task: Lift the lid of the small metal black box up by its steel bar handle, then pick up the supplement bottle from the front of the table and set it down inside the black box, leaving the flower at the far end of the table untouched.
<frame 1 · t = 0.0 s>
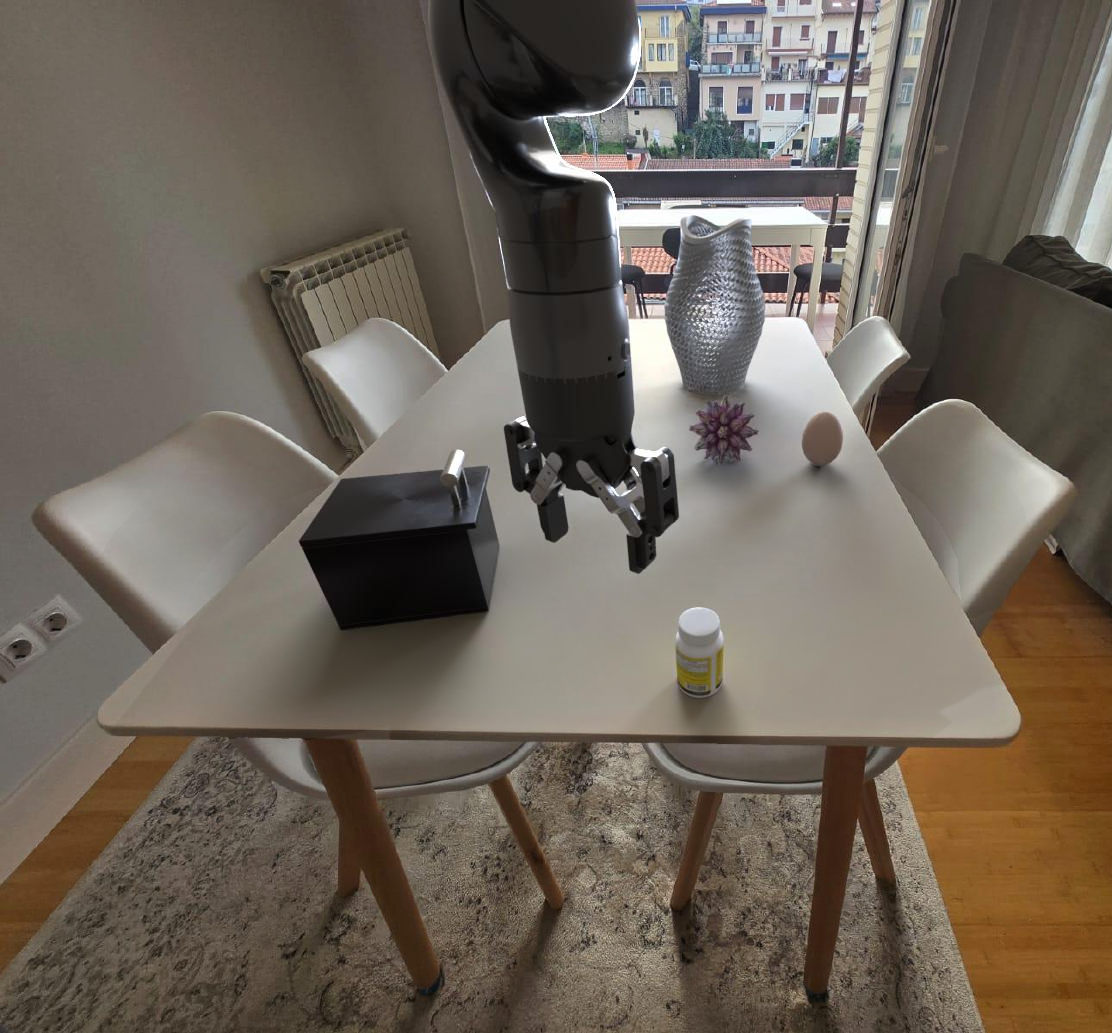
hand: (598, 551, 46), 19 cm above the table, tool pointing down, fingers open, 8 cm apart
egg: (818, 465, 98), on the table
vase: (713, 384, 133), on the table
flower: (723, 461, 100), on the table
black box: (427, 584, 72), on the table
supplement bottle: (699, 682, 58), on the table
oven lid: (399, 486, 64), point 14 cm above the table, hinge at 0.0°
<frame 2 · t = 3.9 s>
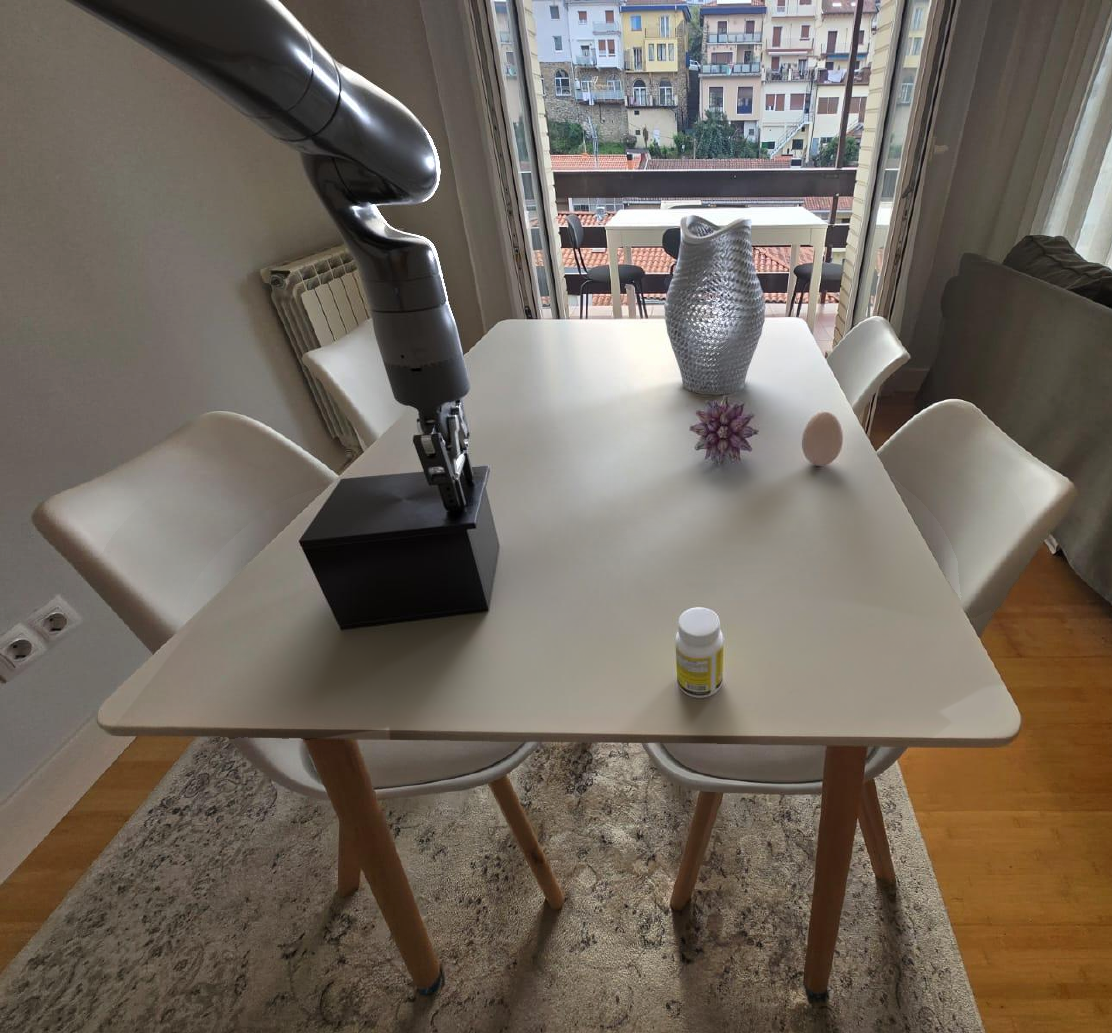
hand: (460, 493, 66), 13 cm above the table, tool pointing down, fingers closed on oven lid, 6 cm apart
oven lid: (399, 486, 64), point 14 cm above the table, hinge at -0.1°, touching gripper
everything else where it was.
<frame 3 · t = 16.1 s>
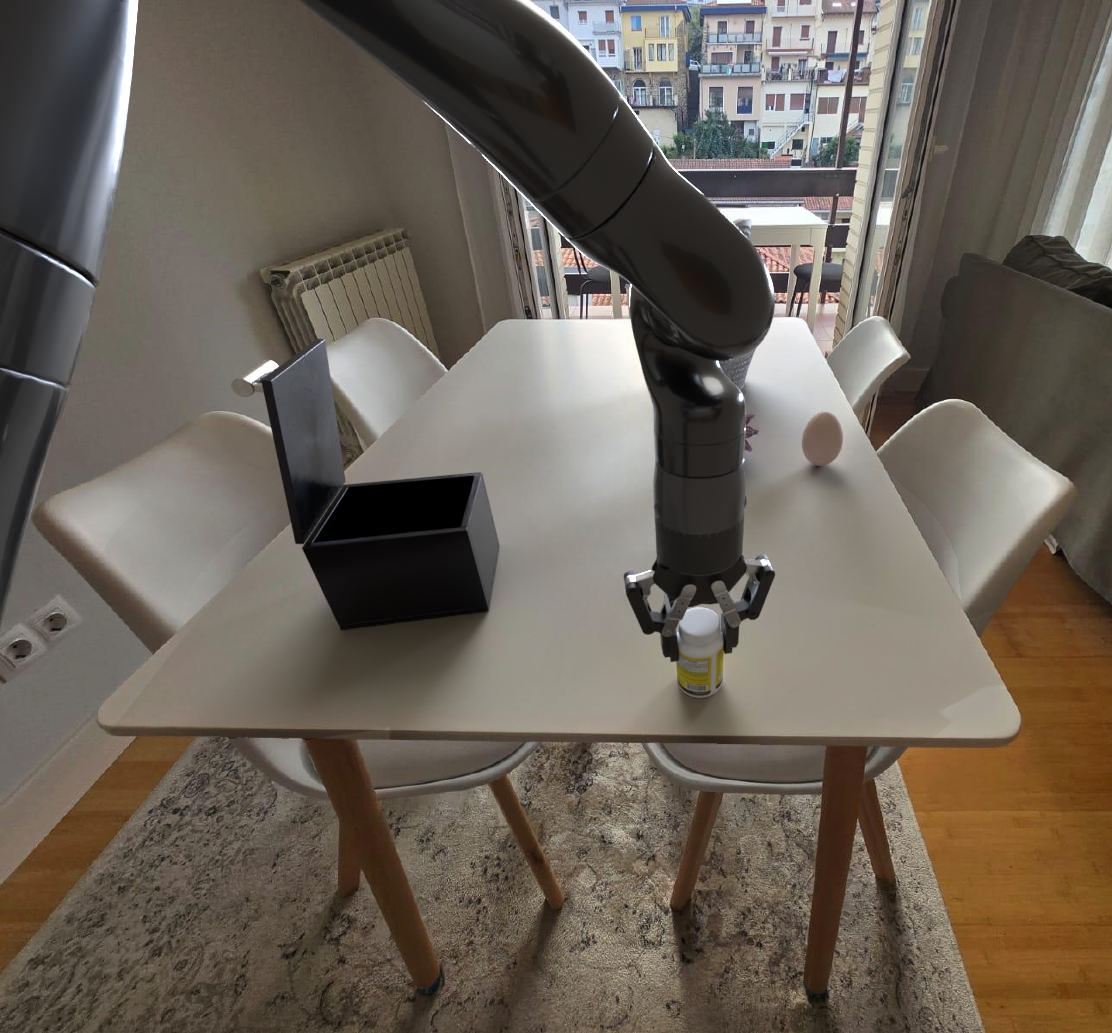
hand: (699, 650, 56), 4 cm above the table, tool pointing down, fingers closed on supplement bottle, 4 cm apart
supplement bottle: (699, 682, 58), on the table, touching gripper
oven lid: (287, 437, 59), point 21 cm above the table, hinge at 78.8°
everything else where it was.
when the fingers open (5 cm above the table, at t = 25.5 s): supplement bottle stays where it is, resting on black box.
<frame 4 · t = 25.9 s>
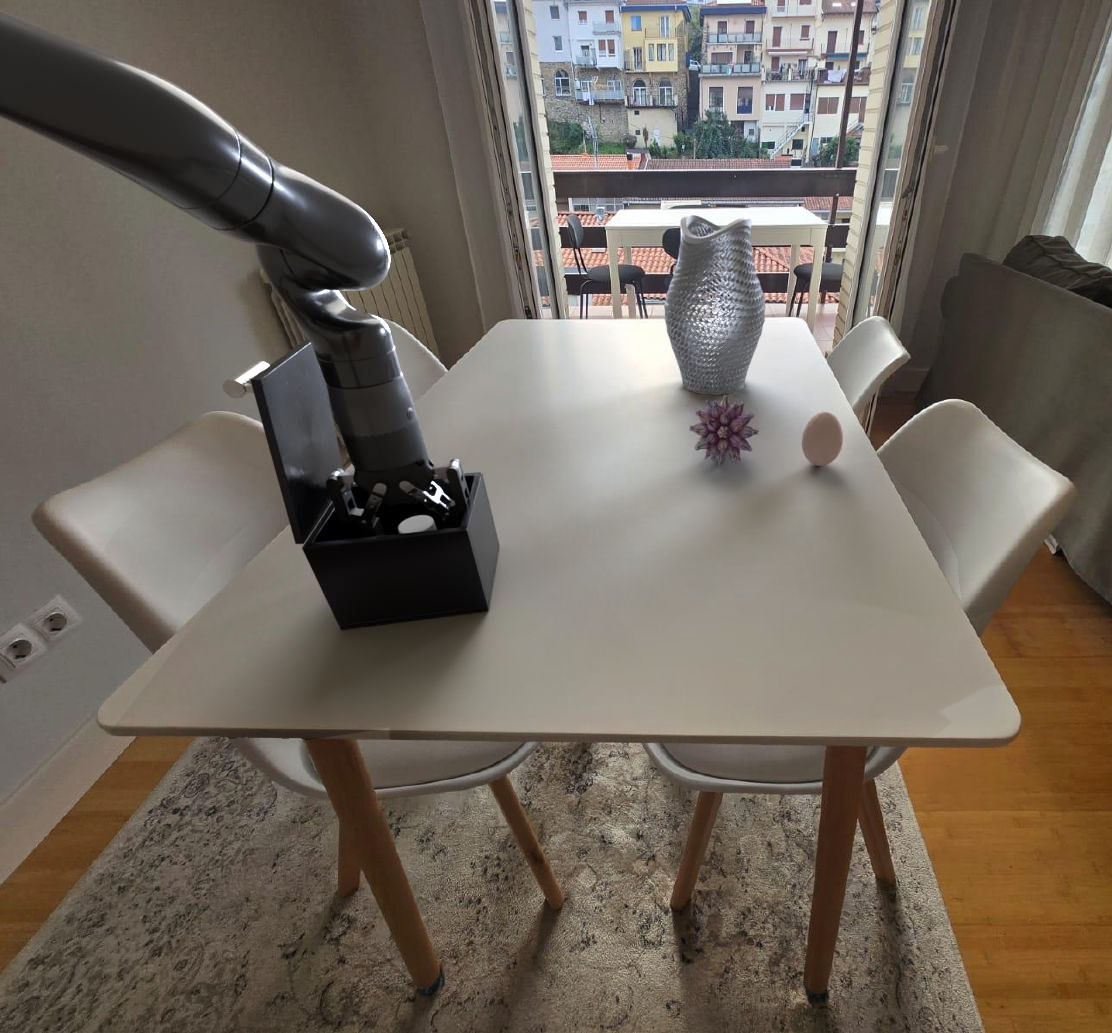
hand: (418, 544, 68), 6 cm above the table, tool pointing down, fingers open, 7 cm apart
supplement bottle: (434, 580, 72), point 1 cm above the table, touching black box
oven lid: (282, 438, 59), point 21 cm above the table, hinge at 81.6°
everything else where it was.
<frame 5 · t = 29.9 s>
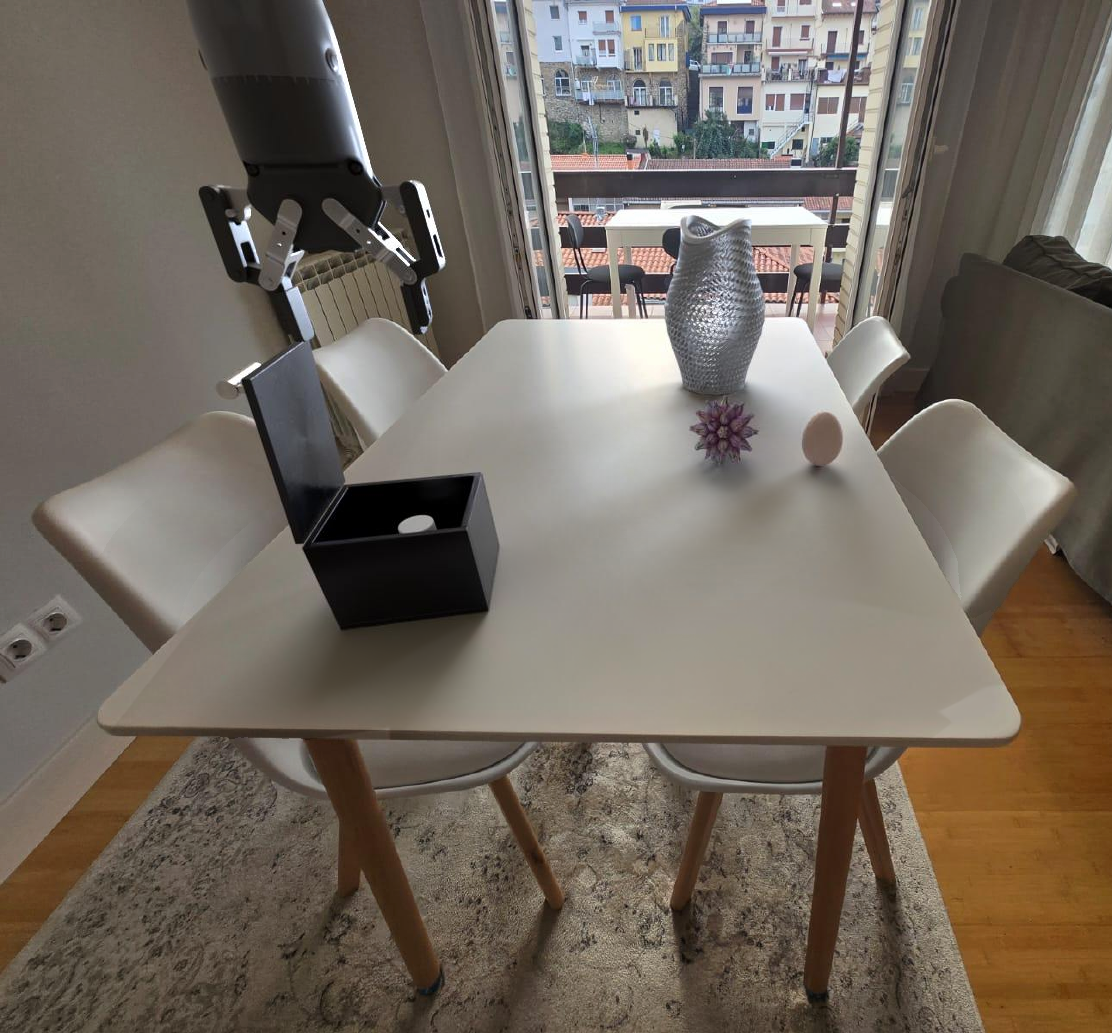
hand: (363, 336, 44), 34 cm above the table, tool pointing down, fingers open, 8 cm apart
oven lid: (279, 438, 59), point 21 cm above the table, hinge at 83.9°
everything else where it was.
at the end: oven lid at +84° (first picture: +0°); supplement bottle inside the target area in the black box (1.0 cm from its centre), point 0.6 cm above the black box's base; flower moved 0.2 cm from its start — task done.
